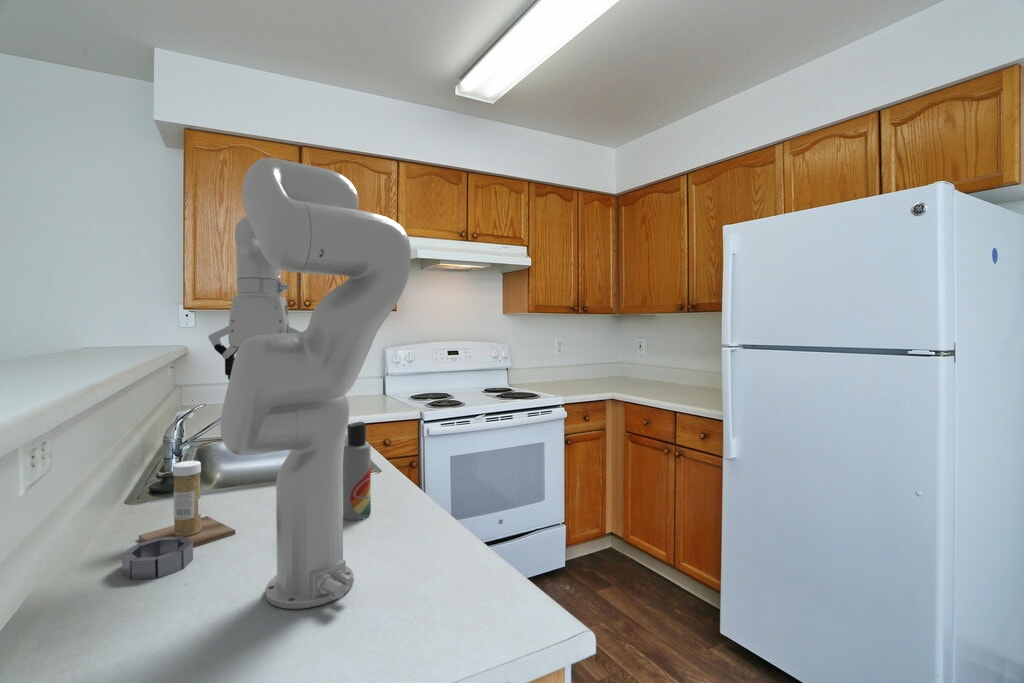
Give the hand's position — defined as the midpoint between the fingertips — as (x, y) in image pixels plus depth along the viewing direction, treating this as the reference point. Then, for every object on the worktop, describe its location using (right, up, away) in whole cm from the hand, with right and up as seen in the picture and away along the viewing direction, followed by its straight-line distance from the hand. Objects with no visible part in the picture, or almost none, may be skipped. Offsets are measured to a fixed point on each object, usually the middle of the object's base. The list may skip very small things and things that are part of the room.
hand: (260, 378), depth 98 cm
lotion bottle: (+15, -30, +11) cm, 36 cm away
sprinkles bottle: (-13, -30, -1) cm, 33 cm away
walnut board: (-14, -30, -1) cm, 33 cm away
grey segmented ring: (-11, -31, -12) cm, 35 cm away
